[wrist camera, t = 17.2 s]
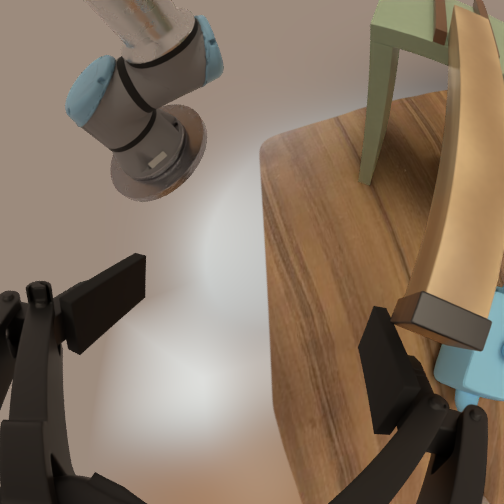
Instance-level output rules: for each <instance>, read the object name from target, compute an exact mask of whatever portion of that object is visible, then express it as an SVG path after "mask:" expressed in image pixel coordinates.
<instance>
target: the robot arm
mask: <svg viewBox="0 0 504 504" xmlns="http://www.w3.org/2000/svg"><path fill="white" fill-rule="evenodd" d="M84 1H85V2H86V3H87V4H88V5H89V6H90V7H91V8H92V9H93V10H94V12H96V14H97V15H98V16H99V17H100V18H101V19H102V20H103V21H104V22H105V23H106V24H107V25H108V26H109V27H110V28H111V29H112V30H113V32H114V33H115V34H116V35H117V36H118V37H119V38H120V39H121V40H122V41H123V45H122V48H121V54H122V56H121V57H120V58H118V59H117V60H115V58H114V57H112V56H109V55H105V56H103V57H99V58H98V59H96V60H95V61H94V62H92V63H91V64H90V65H89V66H88V67H87V68H86V69H85V70H84V71H83V72H82V73H81V74H80V76H79V77H78V78H77V80H76V81H75V83H74V84H73V86H72V88H71V89H70V92H69V94H68V96H67V100H66V105H65V109H66V113H67V115H68V116H69V117H70V118H71V119H72V120H73V121H74V122H75V123H76V124H77V125H78V126H79V127H81V128H83V129H84V130H85V131H87V132H88V133H89V134H90V135H92V136H93V137H94V138H96V139H97V140H98V141H100V142H101V143H102V144H103V145H105V146H106V147H107V148H109V149H110V150H111V151H112V152H113V154H114V156H115V158H116V159H117V161H118V163H119V165H120V167H121V168H122V170H123V171H124V172H125V173H126V174H127V175H128V176H130V177H131V178H133V179H136V180H148V179H151V178H154V177H156V176H158V175H160V174H162V173H163V172H164V171H166V170H167V169H168V168H169V167H170V166H171V165H172V164H173V163H174V162H175V161H176V159H177V158H178V157H179V155H180V153H181V151H182V149H183V147H184V143H185V138H186V134H185V129H184V127H183V125H182V124H181V122H180V121H179V120H178V119H177V118H176V117H174V116H173V115H171V114H169V113H167V112H165V111H163V110H161V109H159V108H160V107H162V106H163V105H165V104H167V103H169V102H171V101H173V100H175V99H177V98H179V97H181V96H183V95H185V94H187V93H190V92H192V91H194V90H196V89H198V88H200V87H203V86H205V85H206V84H207V83H209V82H211V81H213V80H215V79H217V78H219V77H220V76H221V75H222V73H223V69H224V66H223V61H222V57H221V53H220V50H219V47H218V45H217V42H216V40H215V37H214V34H213V31H212V29H211V27H210V25H209V23H208V21H207V19H206V17H205V16H203V15H199V16H194V15H193V14H192V13H191V12H190V11H189V10H186V9H183V8H176V7H175V5H174V3H173V2H172V0H84ZM145 272H146V256H145V255H141V254H137V253H134V254H133V255H131V256H129V257H127V258H126V259H124V260H122V261H120V262H119V263H117V264H115V265H113V266H112V267H110V268H108V269H106V270H105V271H103V272H101V273H100V274H98V275H96V276H94V277H93V278H91V279H89V280H87V281H83V282H80V283H78V284H76V285H74V286H73V287H71V288H69V289H68V290H67V291H64V292H63V293H61V294H59V295H58V296H56V297H55V298H53V295H52V288H51V284H50V283H49V282H46V281H35V282H32V283H30V284H29V285H27V287H26V292H27V298H28V303H24V302H21V300H20V295H19V293H18V292H16V291H5V292H3V293H1V294H0V409H1V407H2V404H3V401H4V399H5V396H6V394H7V391H8V389H9V386H10V384H11V382H12V379H13V383H12V391H11V401H10V413H9V420H3V421H2V422H1V428H0V484H1V487H0V504H147V503H145V502H144V501H142V500H141V499H140V498H138V497H137V496H135V495H134V494H133V493H131V492H130V491H129V490H127V489H126V488H125V487H123V486H121V485H119V484H117V483H115V482H113V481H111V480H109V479H106V478H105V477H103V476H101V475H99V474H98V473H96V472H95V473H94V475H93V476H92V477H91V478H89V477H85V476H77V475H75V473H74V471H73V467H72V464H71V459H70V452H69V446H68V439H67V430H66V422H65V410H64V395H63V362H62V361H63V348H62V344H61V343H62V342H63V341H64V340H66V341H67V345H68V349H69V350H71V351H73V352H75V353H77V354H79V355H81V354H82V353H83V352H84V351H85V350H86V349H87V348H88V347H89V346H90V345H92V344H93V343H94V342H95V341H96V340H97V339H98V338H99V337H100V336H102V335H103V334H104V333H105V332H106V331H107V330H108V329H109V328H110V327H112V326H113V325H114V324H115V323H116V322H117V321H118V320H120V319H121V318H122V317H123V316H124V315H125V314H127V313H128V312H129V311H130V310H131V309H132V308H133V307H135V306H136V305H137V304H138V303H139V302H140V301H141V300H143V299H144V298H145ZM390 319H391V317H390V315H389V313H388V311H387V309H386V308H382V307H377V306H374V307H373V309H372V312H371V315H370V318H369V320H368V323H367V326H366V328H365V331H364V333H363V336H362V339H361V341H360V344H359V346H358V349H359V353H360V358H361V363H362V368H363V373H364V378H365V383H366V388H367V394H368V399H369V405H370V411H371V417H372V423H373V430H374V434H386V435H390V434H391V433H392V431H393V430H394V429H395V427H396V426H397V429H398V431H397V433H396V434H395V435H394V436H393V437H392V439H391V440H390V441H389V442H388V443H387V445H386V446H385V447H384V448H383V449H382V450H381V452H380V453H379V454H378V455H377V456H376V457H375V458H374V459H373V460H372V462H371V463H370V464H369V465H368V466H367V467H366V468H365V469H364V470H363V471H362V472H361V473H360V474H359V475H358V476H357V477H356V478H355V479H354V480H353V481H352V482H351V483H350V484H349V485H348V486H347V487H346V488H345V489H344V490H343V491H342V492H341V493H339V494H338V495H337V496H336V497H335V498H334V499H333V500H332V501H331V502H329V503H328V504H389V503H390V502H391V500H392V499H393V498H394V497H395V495H396V494H397V493H398V491H399V490H400V489H401V487H402V486H403V485H404V483H405V482H406V480H407V479H408V478H409V476H410V475H411V473H412V472H413V470H414V469H415V468H416V466H417V465H418V463H419V461H420V460H421V458H422V457H423V455H424V454H425V452H429V453H431V457H430V461H429V465H428V468H427V472H426V475H425V479H424V482H423V485H422V488H421V491H420V494H419V497H418V500H417V503H416V504H482V500H483V493H484V486H485V476H486V465H487V445H488V418H487V414H486V413H485V411H484V410H483V409H482V408H481V407H479V406H477V405H473V404H470V405H467V406H466V407H465V408H464V410H463V411H462V412H459V411H456V410H452V409H449V405H448V403H447V401H446V400H445V399H444V398H443V397H441V396H440V395H437V394H434V392H433V390H432V388H431V385H430V383H429V381H428V379H427V377H426V374H425V372H424V371H423V370H424V369H423V367H422V365H421V363H420V362H419V361H418V360H417V359H416V358H415V357H414V356H410V355H407V353H406V351H405V348H404V346H403V344H402V341H401V339H400V337H399V335H398V333H397V330H396V328H395V326H394V324H392V323H391V322H390Z"/></svg>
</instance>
